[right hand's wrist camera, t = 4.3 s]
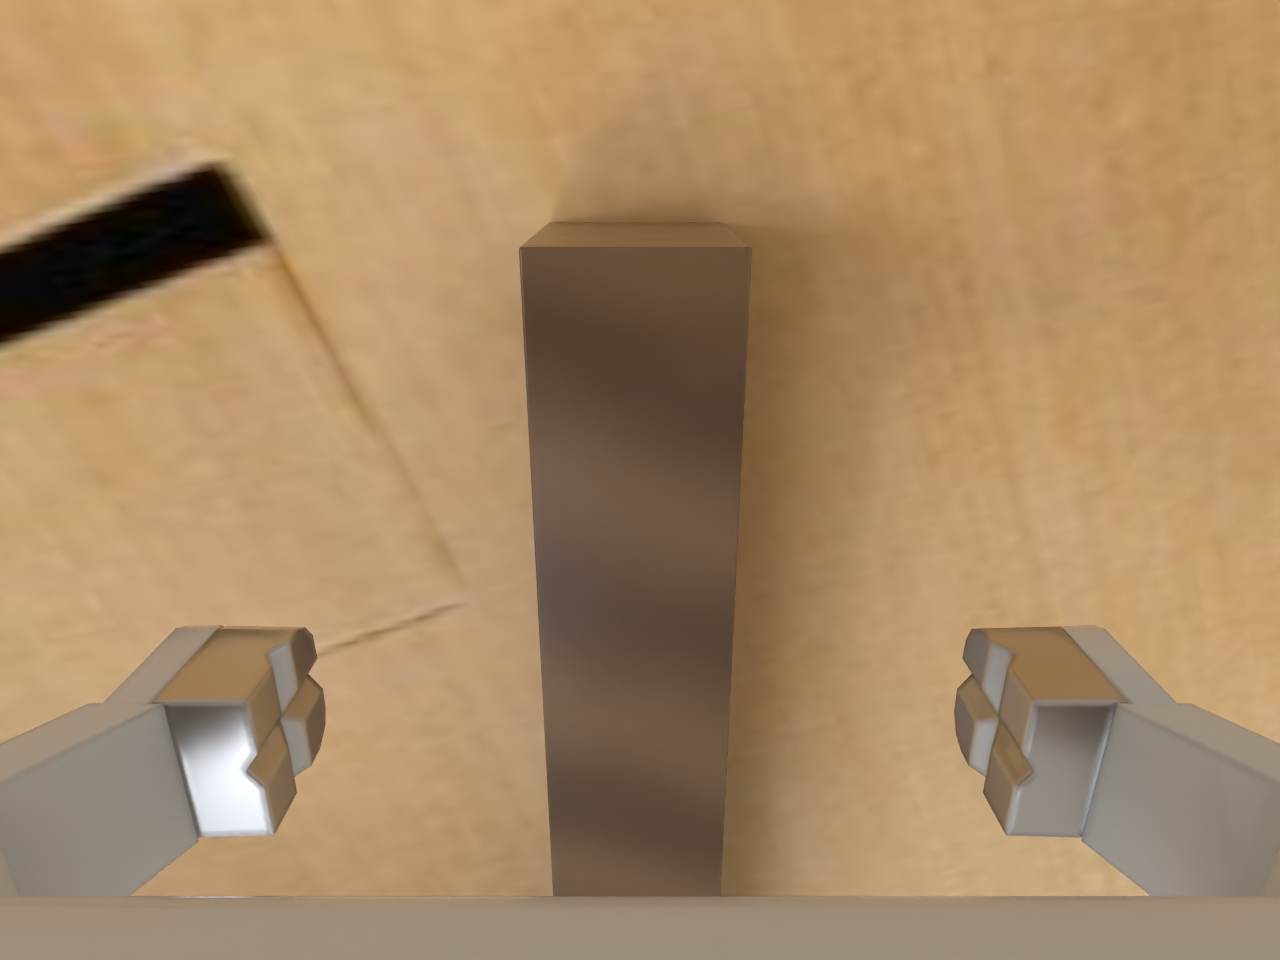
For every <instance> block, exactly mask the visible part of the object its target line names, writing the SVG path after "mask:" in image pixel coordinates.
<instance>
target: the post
mask: <svg viewBox="0 0 1280 960" xmlns="http://www.w3.org/2000/svg"><path fill="white" fill-rule="evenodd" d="M751 253H752V249H751V247H750V246H749V245H748V244H746V243H745V242H744V241H743V240H742V239H741V238H740V237H739V236H737V235H736V234H735V233H734V232H733V231H732V230H731V229H730V228H729V227H727V226H726V225H725V224H724V223H548V224H547V225H546V226H545V227H544V228H542V229H541V230H540V231H539V232H538V233H536V234H535V235H534V236H533V237H532V238H531V239H529V240H528V241H527V242H526V243H525V244H524V245H522V246H521V247H520V248H519V257H520V276H521V295H522V314H523V332H524V351H525V370H526V389H527V408H528V427H529V446H530V465H531V483H532V502H533V521H534V540H535V559H536V578H537V597H538V616H539V634H540V653H541V672H542V691H543V710H544V729H545V748H546V766H547V785H548V804H549V823H550V842H551V861H552V880H553V896H720V894H721V874H722V853H723V832H724V812H725V791H726V770H727V749H728V729H729V708H730V687H731V667H732V646H733V625H734V605H735V584H736V563H737V543H738V522H739V501H740V481H741V460H742V439H743V419H744V398H745V377H746V356H747V336H748V315H749V294H750V274H751Z"/></svg>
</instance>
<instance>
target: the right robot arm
mask: <svg viewBox="0 0 1280 960" xmlns="http://www.w3.org/2000/svg"><path fill="white" fill-rule="evenodd" d="M316 660H317V654H316V649H315V644H314V640H313V635H312V634H311V633H310V632H309V631H308V630H307V629H306V628H303V627H252V626H226V627H224V626H221V625H217V626H185V627H180V628H176V629H175V630H174V631H173V632H172V633H171V634H170V635H169V636H168V637H167V638H166V639H165V640H164V641H163V642H162V643H161V644H160V645H159V646H158V647H157V648H156V649H155V650H154V651H153V652H152V653H151V654H150V656H149V657H148V658H147V659H146V660H145V661H144V662H143V663H142V664H141V665H140V666H139V667H138V668H137V669H136V670H135V671H134V672H133V673H132V674H131V675H130V676H129V677H128V678H127V679H126V680H125V681H124V682H123V683H122V684H121V685H120V686H119V687H118V688H117V689H116V690H115V691H114V692H113V693H112V694H111V695H110V696H109V697H108V699H107V700H106V701H105V702H104V703H103V704H87V705H85V706H83V707H80V708H78V709H76V710H74V711H72V712H69V713H67V714H65V715H63V716H61V717H58V718H56V719H54V720H52V721H50V722H47V723H45V724H43V725H41V726H39V727H36V728H34V729H32V730H30V731H28V732H25V733H23V734H21V735H19V736H17V737H14V738H12V739H10V740H8V741H6V742H3V743H1V744H0V960H1280V744H1279V743H1276V742H1274V741H1272V740H1270V739H1268V738H1265V737H1263V736H1261V735H1259V734H1257V733H1254V732H1252V731H1250V730H1248V729H1246V728H1243V727H1241V726H1239V725H1237V724H1235V723H1232V722H1230V721H1228V720H1226V719H1224V718H1221V717H1219V716H1217V715H1215V714H1213V713H1210V712H1208V711H1206V710H1204V709H1202V708H1200V707H1197V706H1195V705H1193V704H1177V703H1176V702H1175V700H1174V699H1173V698H1172V697H1171V696H1170V695H1169V694H1168V693H1167V692H1166V691H1165V690H1164V689H1163V688H1162V687H1161V686H1160V685H1159V684H1158V683H1157V682H1156V681H1155V680H1154V679H1153V678H1152V677H1151V676H1150V675H1149V674H1148V673H1147V672H1146V671H1145V670H1144V669H1143V668H1142V667H1141V666H1140V665H1139V664H1138V663H1137V661H1136V660H1135V659H1134V658H1133V657H1132V656H1131V655H1130V654H1129V653H1128V652H1127V651H1126V650H1125V649H1124V648H1123V647H1122V646H1121V645H1120V644H1119V643H1118V642H1117V641H1116V640H1115V639H1114V638H1113V637H1112V636H1111V635H1110V634H1109V633H1108V632H1107V631H1106V630H1105V629H1103V628H1100V627H1098V626H1095V625H1084V626H1058V627H1025V628H985V629H971V631H970V633H969V635H968V637H967V639H966V643H965V648H964V653H963V660H964V661H965V663H966V665H967V666H968V668H969V669H970V671H971V673H972V674H971V675H970V676H969V677H968V678H967V679H966V680H965V681H964V682H963V683H962V684H961V686H960V687H959V688H958V689H957V695H956V703H955V710H954V715H955V726H956V735H957V739H958V742H959V745H960V749H961V751H962V753H963V755H964V757H965V759H966V761H967V763H968V765H969V766H970V767H972V768H973V769H975V770H976V771H978V772H979V773H981V774H982V775H984V776H985V777H986V779H985V785H984V790H983V793H984V795H985V797H986V799H987V801H988V803H989V805H990V806H991V808H992V810H993V812H994V814H995V816H996V817H997V819H998V821H999V823H1000V825H1001V827H1002V829H1003V830H1004V832H1005V834H1006V835H1011V836H1047V837H1082V842H1084V843H1085V844H1086V845H1087V846H1089V847H1090V848H1091V849H1092V850H1094V851H1095V852H1096V853H1097V854H1099V855H1100V856H1101V857H1102V858H1104V859H1105V860H1106V861H1108V862H1109V863H1110V864H1111V865H1113V866H1114V867H1115V868H1116V869H1118V870H1119V871H1120V872H1121V873H1123V874H1124V875H1125V876H1126V877H1128V878H1129V879H1130V880H1131V881H1133V882H1134V883H1135V884H1136V885H1138V886H1139V887H1140V888H1141V889H1143V890H1144V891H1145V892H1146V893H1148V894H1149V895H1150V896H130V895H131V894H133V893H134V892H135V891H136V890H138V889H139V888H140V887H141V886H143V885H144V884H145V883H146V882H148V881H149V880H150V879H151V878H153V877H154V876H155V875H156V874H158V873H159V872H160V871H161V870H163V869H164V868H165V867H167V866H168V865H169V864H170V863H172V862H173V861H174V860H175V859H177V858H178V857H179V856H180V855H182V854H183V853H184V852H185V851H187V850H188V849H189V848H190V847H192V846H193V845H194V844H196V843H197V842H198V837H232V836H267V835H274V834H275V832H276V831H277V829H278V827H279V825H280V823H281V821H282V819H283V818H284V816H285V814H286V812H287V810H288V808H289V806H290V805H291V803H292V801H293V799H294V797H295V795H296V793H297V790H296V785H295V779H294V777H295V776H296V775H298V774H299V773H301V772H302V771H304V770H305V769H307V768H308V767H310V766H311V765H312V763H313V761H314V759H315V757H316V755H317V753H318V751H319V749H320V746H321V741H322V737H323V733H324V728H325V700H324V694H323V689H322V688H321V687H320V686H319V684H318V683H317V682H316V681H315V680H314V679H313V678H312V677H311V676H310V675H309V674H308V673H309V671H310V669H311V668H312V666H313V665H314V663H315V661H316Z"/></svg>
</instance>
